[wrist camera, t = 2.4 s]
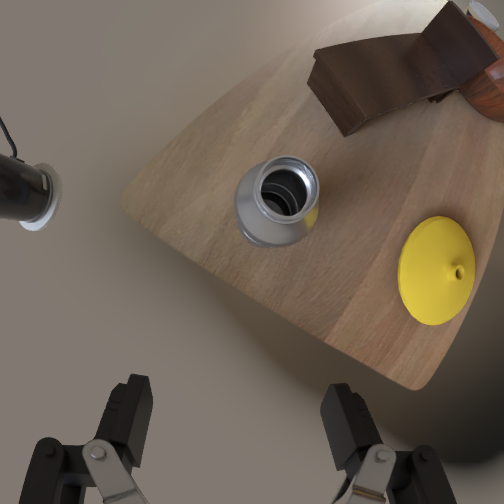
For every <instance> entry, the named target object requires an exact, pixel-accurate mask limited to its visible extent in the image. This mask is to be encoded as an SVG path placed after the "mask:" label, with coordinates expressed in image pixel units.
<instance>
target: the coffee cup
mask: <svg viewBox="0 0 504 504" xmlns="http://www.w3.org/2000/svg"><path fill="white" fill-rule="evenodd" d="M463 13H464V14H465V15H469V16H471V17H473V18H476V19H477V20H479V21H480V22H482V23H483V24H485V25H486V26H487V27H488V28H490V29H491V30H492V31H493V32H495V31H497V30H499V24H498V22H497V21H496V19H495V18H494V17H493V15H492V14H491V13H490V12H489V11H488V10H487V9H486V8H485V7H484V6H482V5H481V4H480V3H478V2H476V1H470V3H469V5H468V6H467V7H466V8H465V10H464V11H463Z"/></svg>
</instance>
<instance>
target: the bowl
mask: <svg viewBox="0 0 504 504" xmlns="http://www.w3.org/2000/svg"><path fill="white" fill-rule="evenodd" d="M466 16H467V17H468V18H469V19H470V20H471V22H472V23H473V24H474V25H475V26H476V27H477V29H478V30H479V31H480V32H481V34H482V35H483V36H484V37H485V39H486V40H487V41H488V42H489V44H490V45H491V46H492V48H493V49H494V50H495V52H496V53H497V55H498V56H499V57H500V59H499V60H497V61H496V62H495V63H493V64H492V65H490V66H489V67H488V68H486V69H485V70H483V71H482V72H481V73H479V74H478V75H477V76H475V77H474V78H472V79H471V80H470V81H468V82H467V83H466V84H464V85H463V86H462V87H460V88H459V90H460V91H461V93H462V94H463V95H464V97H465V98H466V99H467V100H468V101H469V103H470V104H471V105H472V106H473V107H474V108H475V109H476V110H477V111H479V112H480V113H481V114H483V115H484V116H486V117H488V118H490V119H492V120H494V121H498V122H504V42H503V41H502V40H501V39H500V38H499V37H498V36H497V35H496V34H495V33H494V32H493V31H492V30H491V29H490V28H488V27H487V26H486V25H485V24H483V23H482V22H480V21H479V20H477V19H476V18H473V17H471V16H469V15H466Z"/></svg>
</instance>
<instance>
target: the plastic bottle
mask: <svg viewBox="0 0 504 504" xmlns="http://www.w3.org/2000/svg"><path fill="white" fill-rule="evenodd" d="M318 196H319V181H318V177H317V175H316V172H315V171H314V169H313V168H312V167H311V166H310V165H309V164H308V163H307V162H306V161H305V160H303V159H301V158H299V157H297V156H293V155H281V156H277V157H275V158H272V159H271V160H269V161H266V162H263V163H260V164H258V165H256V166H254V167H253V168H251V169H250V170H249V171H248V172H247V173H246V174H245V175H244V176H243V177H242V179H241V180H240V182H239V184H238V186H237V189H236V192H235V197H234V209H235V214H236V217H237V223H238V228H239V230H240V233H241V234H242V236H243V237H244V238H245V239H246V240H247V241H248V242H249V243H251V244H252V245H254V246H257V247H261V248H269V247H286V246H290V245H293V244H295V243H297V242H299V241H300V240H302V239H303V238H304V237H305V236H306V235H307V234H308V233H309V232H310V231H311V229H312V228H313V226H314V224H315V222H316V219H317V216H318V210H319V197H318Z"/></svg>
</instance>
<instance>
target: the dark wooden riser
mask: <svg viewBox="0 0 504 504" xmlns="http://www.w3.org/2000/svg"><path fill="white" fill-rule="evenodd" d="M313 57H314V58H315V59H316V61H315V64H314V67H313V69H312V72H311V74H310V77H309V79H308V82H307V84H308V86H309V87H310V88H311V90H312V91H313V92H314V94H315V95H316V96H317V98H318V99H319V101H320V102H321V103H322V105H323V106H324V108H325V109H326V111H327V112H328V113H329V115H330V116H331V118H332V119H333V121H334V122H335V124H336V125H337V127H338V128H339V130H340V132H341V133H342V135H343V136H344V137H346V136H348V135H351V134H352V133H353V132H354V131H355V130H356V129H357V128H358V127H359V126H360V125H361V124H362V123H363V122H364V121H366V120H369V119H371V118H374V117H377V116H379V115H382V114H384V113H387V112H389V111H392V110H395V109H398V108H400V107H403V106H406V105H408V104H411V103H414V102H417V101H420V100H423V99H426V98H428V99H429V101H430V102H434V101H436V103H439V102H441V101H442V100H444V99H445V98H446V97H448V96H449V95H451V94H452V93H453V92H455V91H456V90H457V89H459V88H460V87H462V86H463V85H464V84H466V83H467V82H468V81H470V80H471V79H472V78H474V77H475V76H477V75H478V74H479V73H481V72H482V71H483V70H485V69H486V68H488V67H489V66H490V65H492V64H493V63H495V62H496V61H497V60H499V59H500V57H499V56H498V55H497V53H496V52H495V50H494V49H493V48H492V46H491V45H490V44H489V42H488V41H487V40H486V39H485V37H484V36H483V35H482V34H481V32H480V31H479V30H478V29H477V27H476V26H475V25H474V24H473V23H472V22H471V20H470V19H469V18H468V17H467V16H466V15H465V14H464V13H463V12H462V11H461V9H460V8H459V7H458V6H457V5H456V4H455V3H454V2H453V1H448V2H447V3H446V5H445V6H444V7H443V8H442V9H441V10H440V12H439V13H438V14H437V15H436V16H435V17H434V19H433V20H432V21H431V22H430V23H429V25H428V26H427V27H426V28H425V29H424V30H423V32H422V33H413V34H401V35H392V36H384V37H377V38H370V39H364V40H358V41H353V42H348V43H343V44H338V45H334V46H330V47H325V48H321V49H317V50H315V53H314V55H313Z"/></svg>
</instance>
